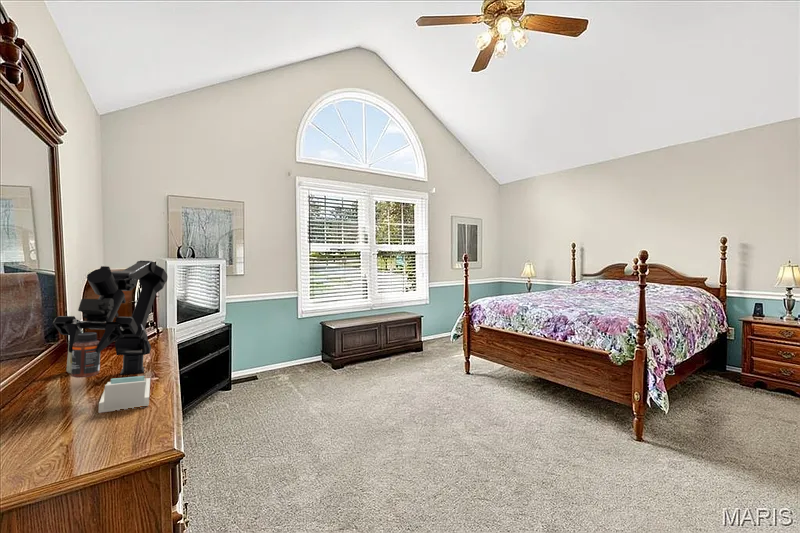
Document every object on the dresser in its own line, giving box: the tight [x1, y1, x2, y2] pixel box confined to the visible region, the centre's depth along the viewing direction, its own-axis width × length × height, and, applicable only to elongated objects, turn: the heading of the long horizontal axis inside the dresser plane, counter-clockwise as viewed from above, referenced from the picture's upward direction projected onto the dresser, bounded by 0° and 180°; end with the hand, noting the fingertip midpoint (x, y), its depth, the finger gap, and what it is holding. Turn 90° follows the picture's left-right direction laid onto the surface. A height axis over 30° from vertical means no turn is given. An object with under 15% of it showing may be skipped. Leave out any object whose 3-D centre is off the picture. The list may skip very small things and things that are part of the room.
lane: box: [98, 377, 151, 414], centre depth 105 cm, size 20×10×7 cm, turn 32°
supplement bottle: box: [70, 331, 101, 379], centre depth 103 cm, size 6×6×11 cm
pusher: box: [110, 375, 145, 384], centre depth 105 cm, size 3×8×4 cm, turn 123°
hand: (83, 351), depth 102 cm, fingers closed on supplement bottle, 6 cm apart
